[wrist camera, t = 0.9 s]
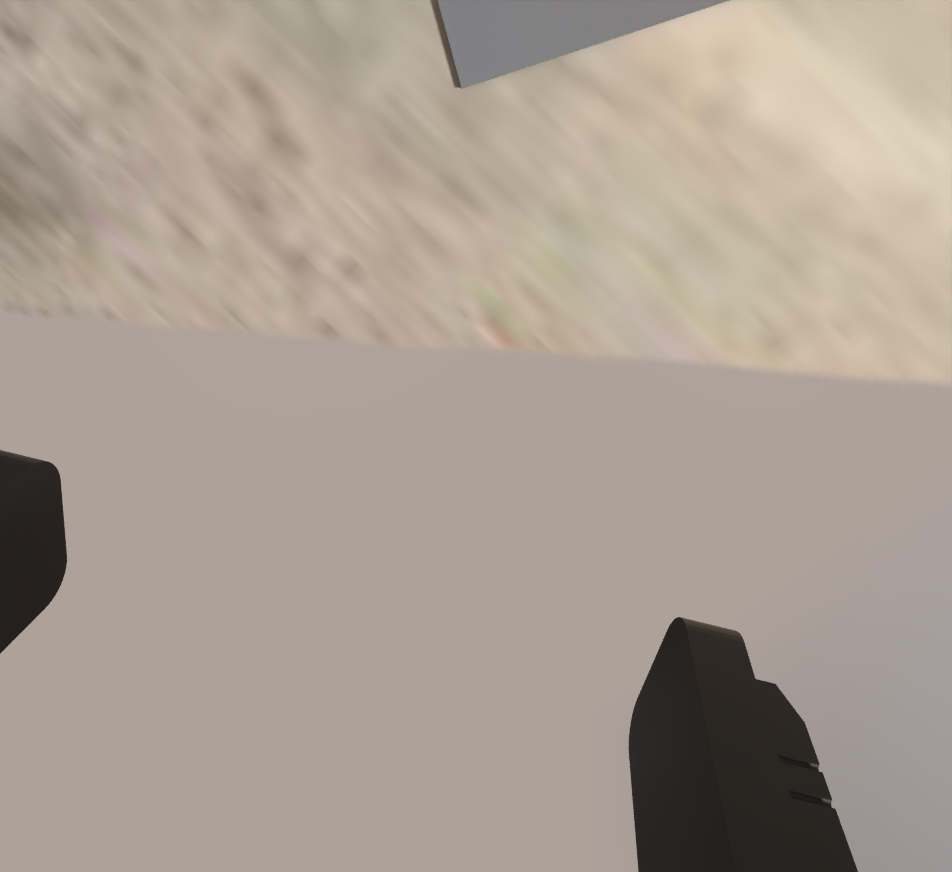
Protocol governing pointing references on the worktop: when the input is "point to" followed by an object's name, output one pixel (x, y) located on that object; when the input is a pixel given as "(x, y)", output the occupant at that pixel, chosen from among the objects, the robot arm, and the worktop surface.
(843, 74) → the worktop surface
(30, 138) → the worktop surface
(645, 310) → the worktop surface
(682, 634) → the robot arm
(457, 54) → the mat
